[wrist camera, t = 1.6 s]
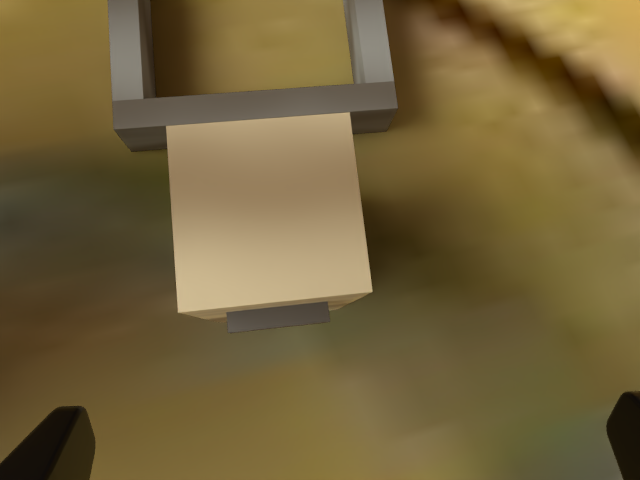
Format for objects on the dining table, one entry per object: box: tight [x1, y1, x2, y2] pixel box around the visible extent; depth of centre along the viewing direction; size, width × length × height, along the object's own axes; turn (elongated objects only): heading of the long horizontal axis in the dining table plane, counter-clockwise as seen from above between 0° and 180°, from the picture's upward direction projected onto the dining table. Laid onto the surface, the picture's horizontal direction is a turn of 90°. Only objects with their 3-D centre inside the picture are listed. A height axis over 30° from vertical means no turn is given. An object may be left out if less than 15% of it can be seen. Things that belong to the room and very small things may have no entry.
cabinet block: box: [166, 112, 373, 333], centre depth 18 cm, size 6×5×9 cm
